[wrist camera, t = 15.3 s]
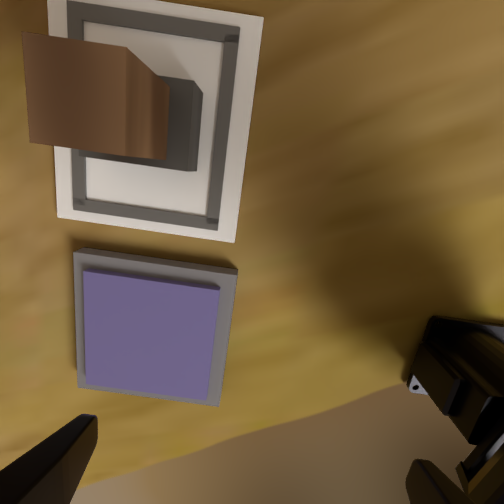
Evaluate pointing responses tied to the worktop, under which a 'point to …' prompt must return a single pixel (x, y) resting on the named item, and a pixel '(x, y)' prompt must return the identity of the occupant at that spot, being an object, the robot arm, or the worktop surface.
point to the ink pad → (152, 325)
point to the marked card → (212, 119)
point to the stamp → (109, 104)
